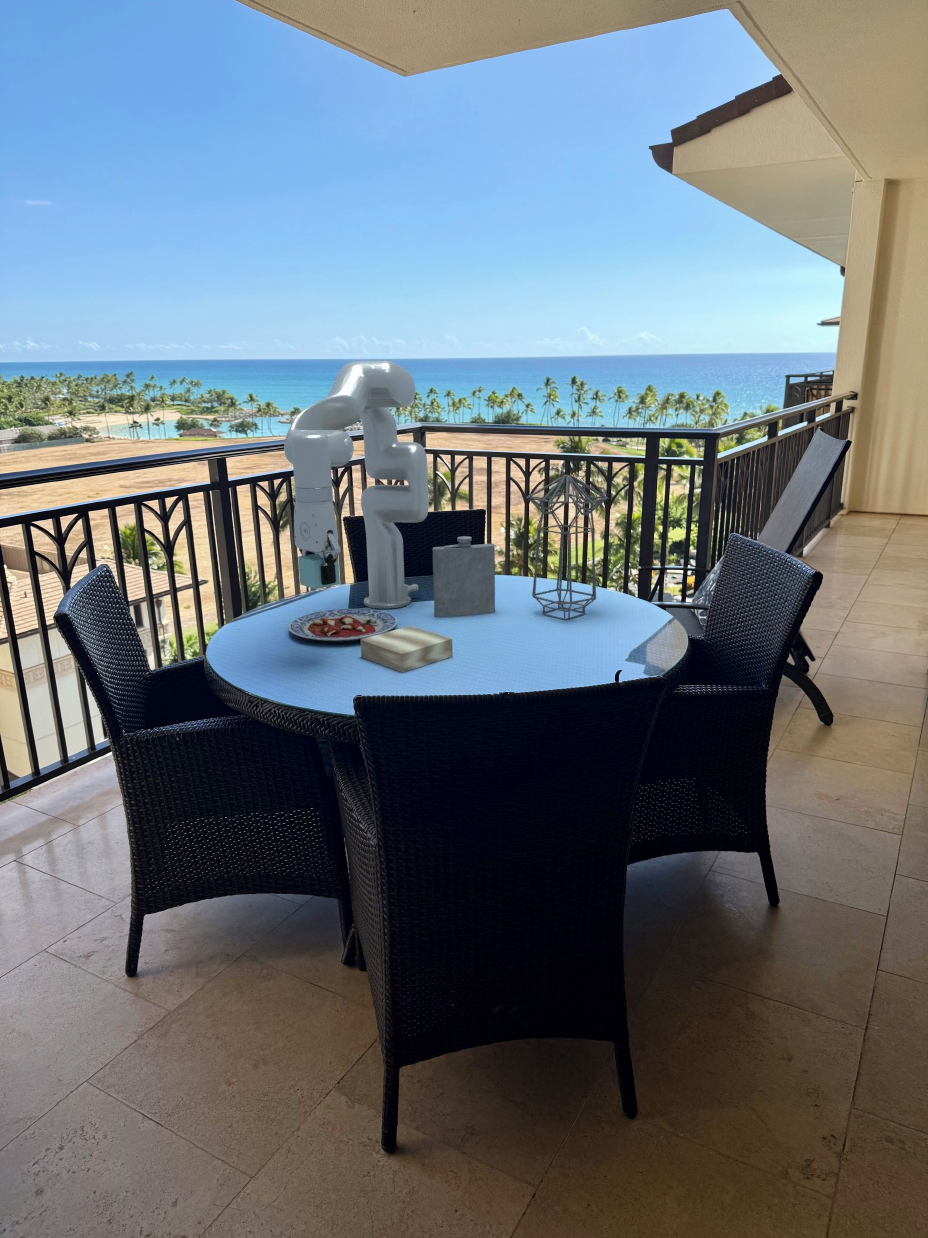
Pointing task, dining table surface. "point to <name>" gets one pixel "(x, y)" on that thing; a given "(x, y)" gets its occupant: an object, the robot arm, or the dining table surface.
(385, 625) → the ceramic plate
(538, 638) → the dining table surface
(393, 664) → the birch base
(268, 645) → the dining table surface
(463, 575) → the hip flask
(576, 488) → the geometric lantern
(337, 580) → the teal cube
